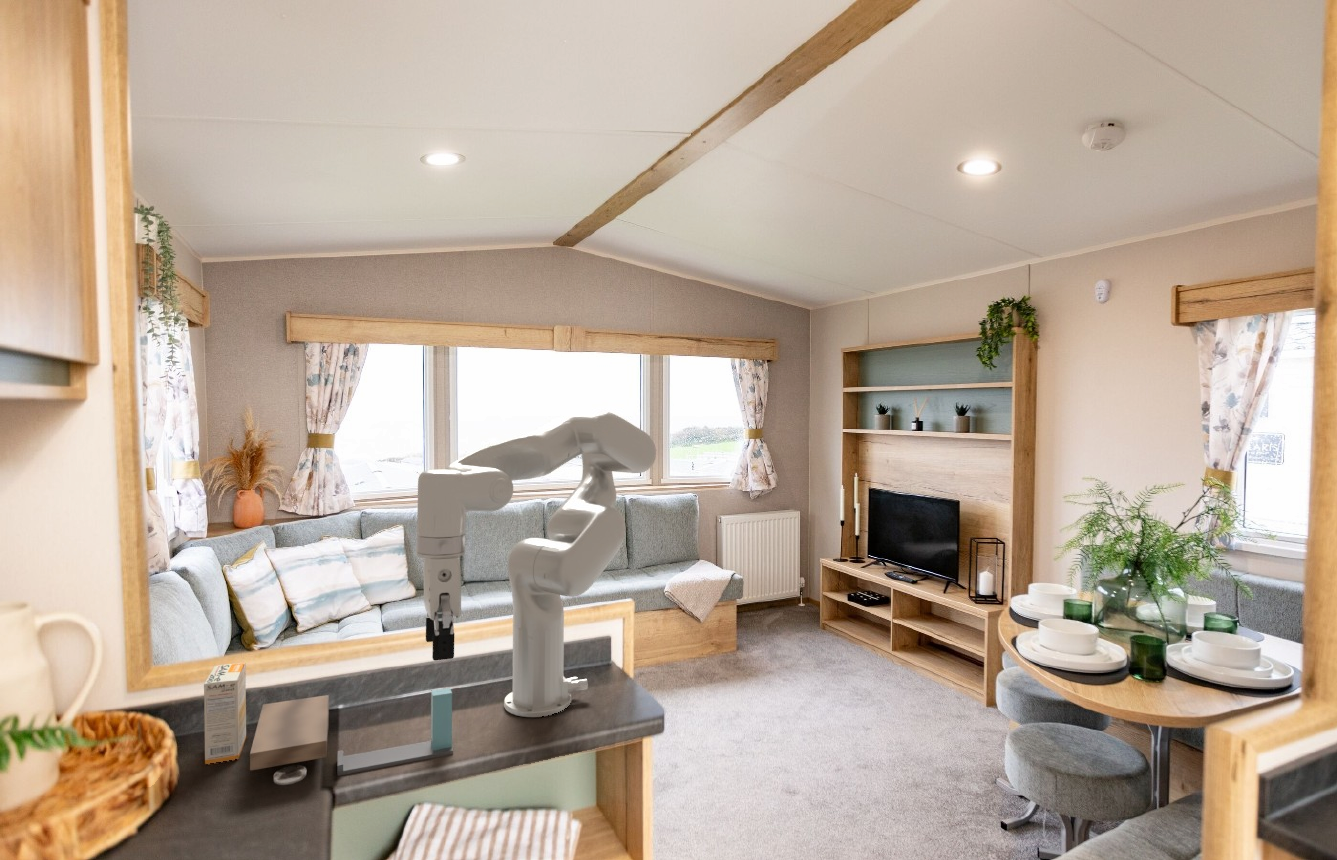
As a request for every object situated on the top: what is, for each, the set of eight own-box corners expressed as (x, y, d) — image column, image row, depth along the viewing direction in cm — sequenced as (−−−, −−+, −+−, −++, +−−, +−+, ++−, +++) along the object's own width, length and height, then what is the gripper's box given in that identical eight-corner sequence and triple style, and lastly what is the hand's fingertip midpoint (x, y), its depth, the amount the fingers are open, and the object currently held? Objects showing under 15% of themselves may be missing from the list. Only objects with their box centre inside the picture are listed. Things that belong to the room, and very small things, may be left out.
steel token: (307, 769, 110) (307, 763, 110) (305, 783, 106) (305, 776, 106) (274, 775, 108) (274, 769, 108) (272, 789, 104) (272, 782, 104)
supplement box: (213, 743, 117) (213, 665, 117) (246, 738, 119) (246, 661, 119) (203, 766, 110) (202, 683, 109) (238, 760, 111) (238, 678, 111)
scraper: (448, 741, 119) (448, 684, 119) (452, 754, 114) (453, 696, 114) (337, 761, 112) (337, 701, 111) (337, 776, 107) (337, 714, 107)
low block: (328, 727, 123) (328, 695, 123) (326, 778, 107) (326, 740, 106) (263, 737, 119) (262, 704, 119) (250, 792, 102) (249, 753, 102)
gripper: (473, 553, 109) (471, 664, 109) (457, 535, 124) (455, 632, 125) (422, 556, 105) (420, 670, 106) (412, 538, 121) (410, 636, 121)
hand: (439, 649), depth 115 cm, fingers open, 9 cm apart
